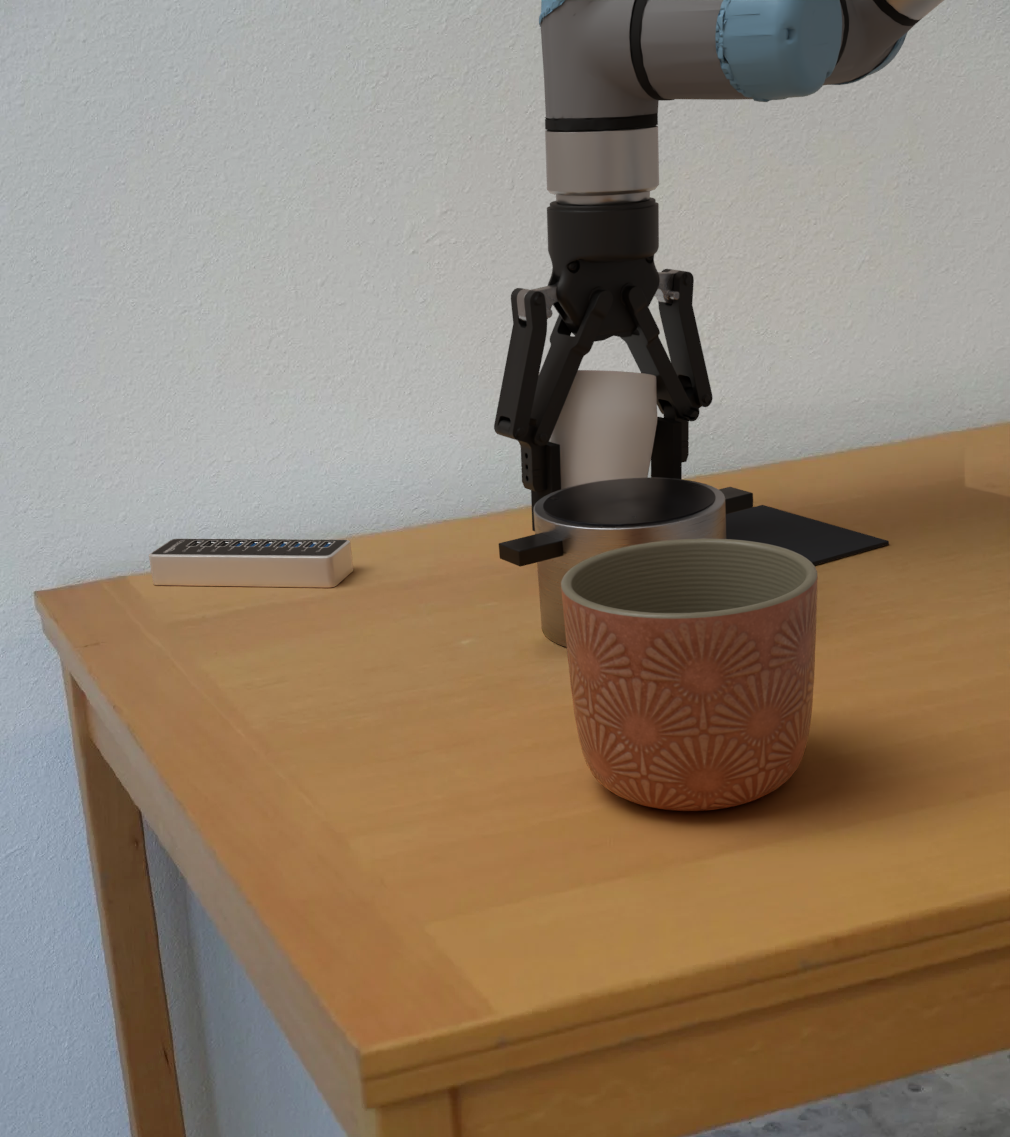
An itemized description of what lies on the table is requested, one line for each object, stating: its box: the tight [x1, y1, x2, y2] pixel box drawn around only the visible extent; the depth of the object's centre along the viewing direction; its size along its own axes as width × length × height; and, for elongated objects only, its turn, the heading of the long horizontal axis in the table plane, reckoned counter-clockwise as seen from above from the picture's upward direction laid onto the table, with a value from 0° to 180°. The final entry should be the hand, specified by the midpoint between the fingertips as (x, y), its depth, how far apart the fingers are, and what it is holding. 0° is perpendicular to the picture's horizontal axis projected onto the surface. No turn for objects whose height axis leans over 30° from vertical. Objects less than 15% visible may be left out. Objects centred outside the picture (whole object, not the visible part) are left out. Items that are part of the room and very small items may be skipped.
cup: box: [539, 369, 658, 489], centre depth 122 cm, size 9×9×12 cm
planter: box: [561, 539, 819, 812], centre depth 85 cm, size 12×12×11 cm
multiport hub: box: [148, 538, 354, 589], centre depth 125 cm, size 4×14×2 cm, turn 75°
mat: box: [726, 504, 890, 566], centre depth 124 cm, size 14×14×1 cm
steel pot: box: [498, 477, 754, 648], centre depth 108 cm, size 12×18×8 cm, turn 122°
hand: (608, 520), depth 123 cm, fingers open, 10 cm apart
